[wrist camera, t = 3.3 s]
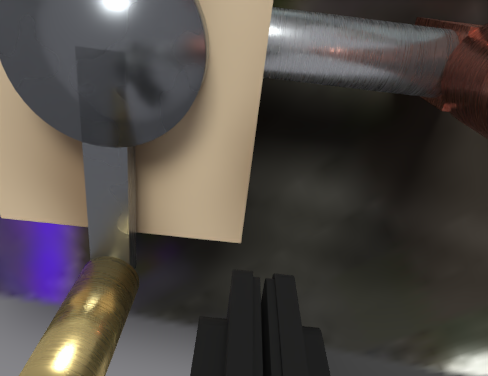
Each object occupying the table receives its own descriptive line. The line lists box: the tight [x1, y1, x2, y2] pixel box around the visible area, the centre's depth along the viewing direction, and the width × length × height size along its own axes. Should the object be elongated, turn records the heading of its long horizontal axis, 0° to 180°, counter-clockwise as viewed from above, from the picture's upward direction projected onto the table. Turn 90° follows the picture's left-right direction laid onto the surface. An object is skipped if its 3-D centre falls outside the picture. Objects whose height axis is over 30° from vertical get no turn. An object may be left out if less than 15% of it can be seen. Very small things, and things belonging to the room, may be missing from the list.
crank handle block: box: [0, 0, 209, 376], centre depth 9 cm, size 5×10×5 cm, turn 173°
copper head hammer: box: [263, 7, 488, 139], centre depth 12 cm, size 19×4×12 cm, turn 84°
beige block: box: [0, 0, 273, 243], centre depth 14 cm, size 8×12×8 cm, turn 174°
